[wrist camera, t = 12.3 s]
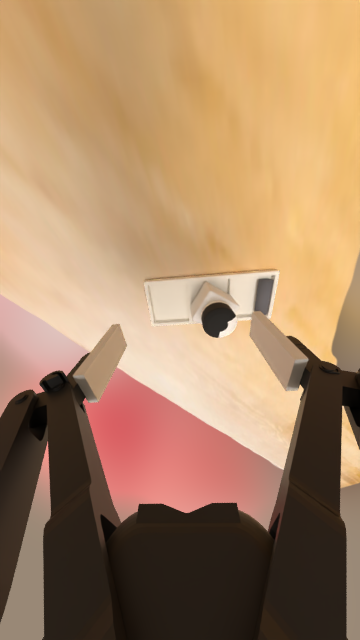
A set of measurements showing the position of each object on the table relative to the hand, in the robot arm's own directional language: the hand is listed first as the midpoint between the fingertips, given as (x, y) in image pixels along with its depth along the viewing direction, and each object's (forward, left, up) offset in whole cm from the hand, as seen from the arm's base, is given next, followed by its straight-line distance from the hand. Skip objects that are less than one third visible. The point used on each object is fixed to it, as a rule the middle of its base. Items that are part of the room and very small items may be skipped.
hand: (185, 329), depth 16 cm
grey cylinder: (+6, +17, -22) cm, 28 cm away
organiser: (+6, +6, -24) cm, 26 cm away
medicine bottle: (+6, +6, -22) cm, 24 cm away
